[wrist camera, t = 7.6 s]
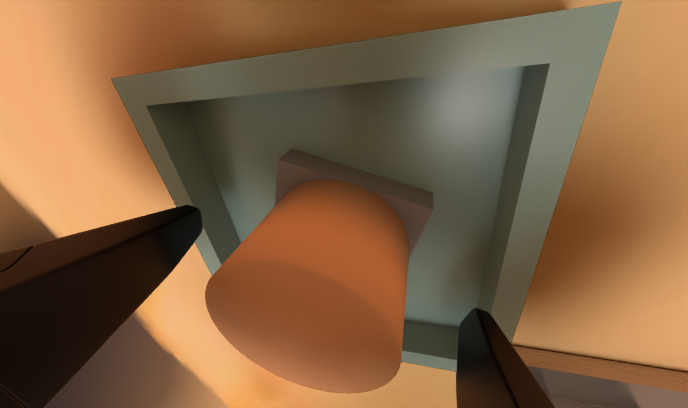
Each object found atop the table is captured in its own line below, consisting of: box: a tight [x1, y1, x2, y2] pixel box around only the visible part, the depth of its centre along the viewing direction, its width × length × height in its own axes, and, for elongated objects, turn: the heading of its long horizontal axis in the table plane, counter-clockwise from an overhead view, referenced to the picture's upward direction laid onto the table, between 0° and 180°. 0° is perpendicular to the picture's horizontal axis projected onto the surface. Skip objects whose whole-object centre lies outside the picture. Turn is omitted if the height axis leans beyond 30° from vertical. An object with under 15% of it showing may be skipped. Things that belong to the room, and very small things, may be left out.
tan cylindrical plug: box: [205, 149, 434, 393], centre depth 8 cm, size 5×5×4 cm
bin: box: [111, 1, 622, 372], centre depth 10 cm, size 12×12×2 cm
